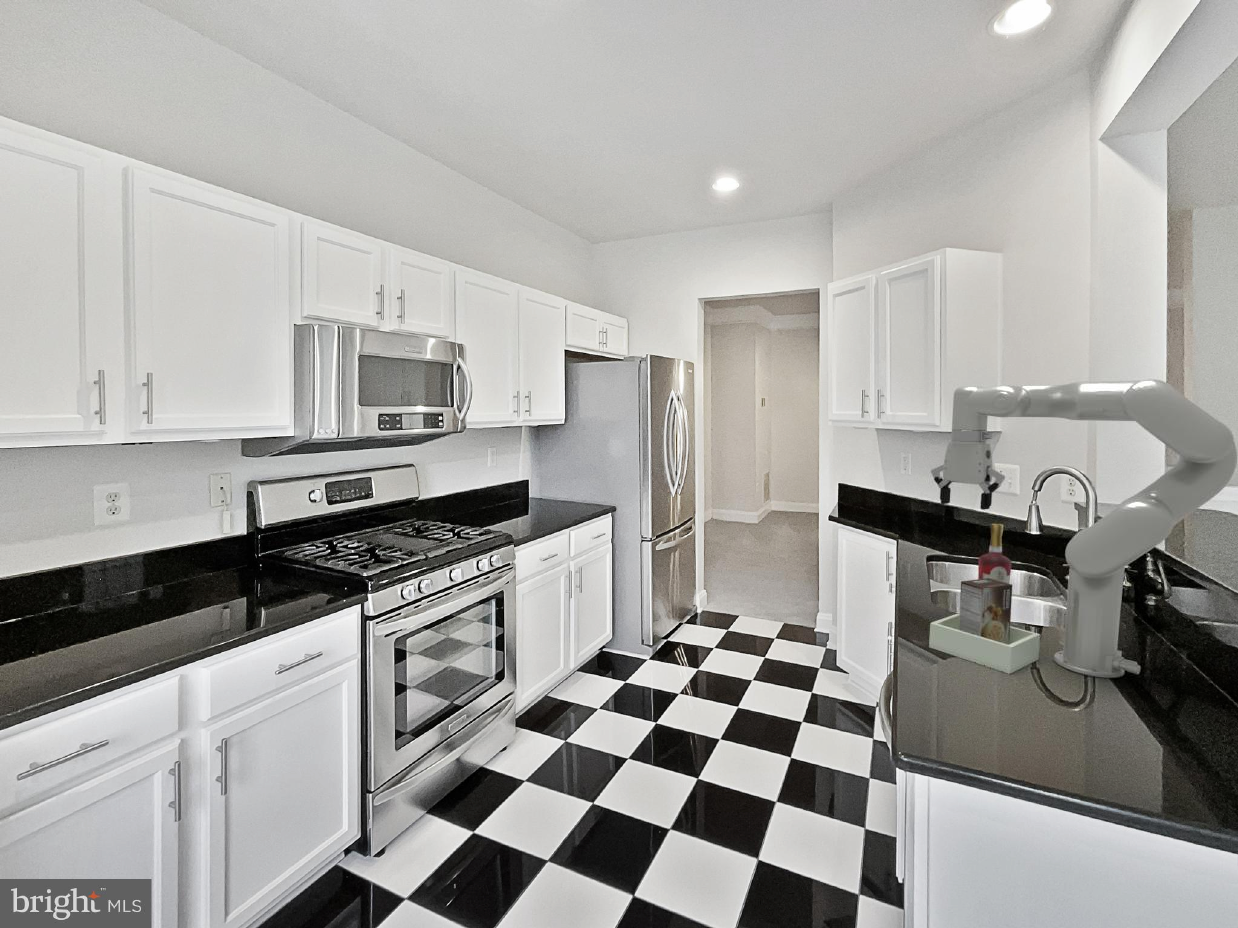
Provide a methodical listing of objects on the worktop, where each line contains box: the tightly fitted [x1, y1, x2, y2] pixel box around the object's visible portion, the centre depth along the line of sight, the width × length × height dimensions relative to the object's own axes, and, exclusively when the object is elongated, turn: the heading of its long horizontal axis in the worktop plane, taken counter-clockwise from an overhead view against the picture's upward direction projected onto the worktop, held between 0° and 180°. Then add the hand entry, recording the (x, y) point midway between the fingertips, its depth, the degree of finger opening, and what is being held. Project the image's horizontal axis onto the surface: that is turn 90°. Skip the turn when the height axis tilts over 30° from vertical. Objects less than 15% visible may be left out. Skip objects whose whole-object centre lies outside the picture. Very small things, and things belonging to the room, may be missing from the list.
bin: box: [928, 612, 1041, 675], centre depth 146 cm, size 18×14×6 cm
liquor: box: [977, 523, 1013, 584], centre depth 159 cm, size 7×7×28 cm
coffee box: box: [959, 578, 1013, 645], centre depth 146 cm, size 9×6×16 cm
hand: (964, 506), depth 154 cm, fingers open, 9 cm apart
